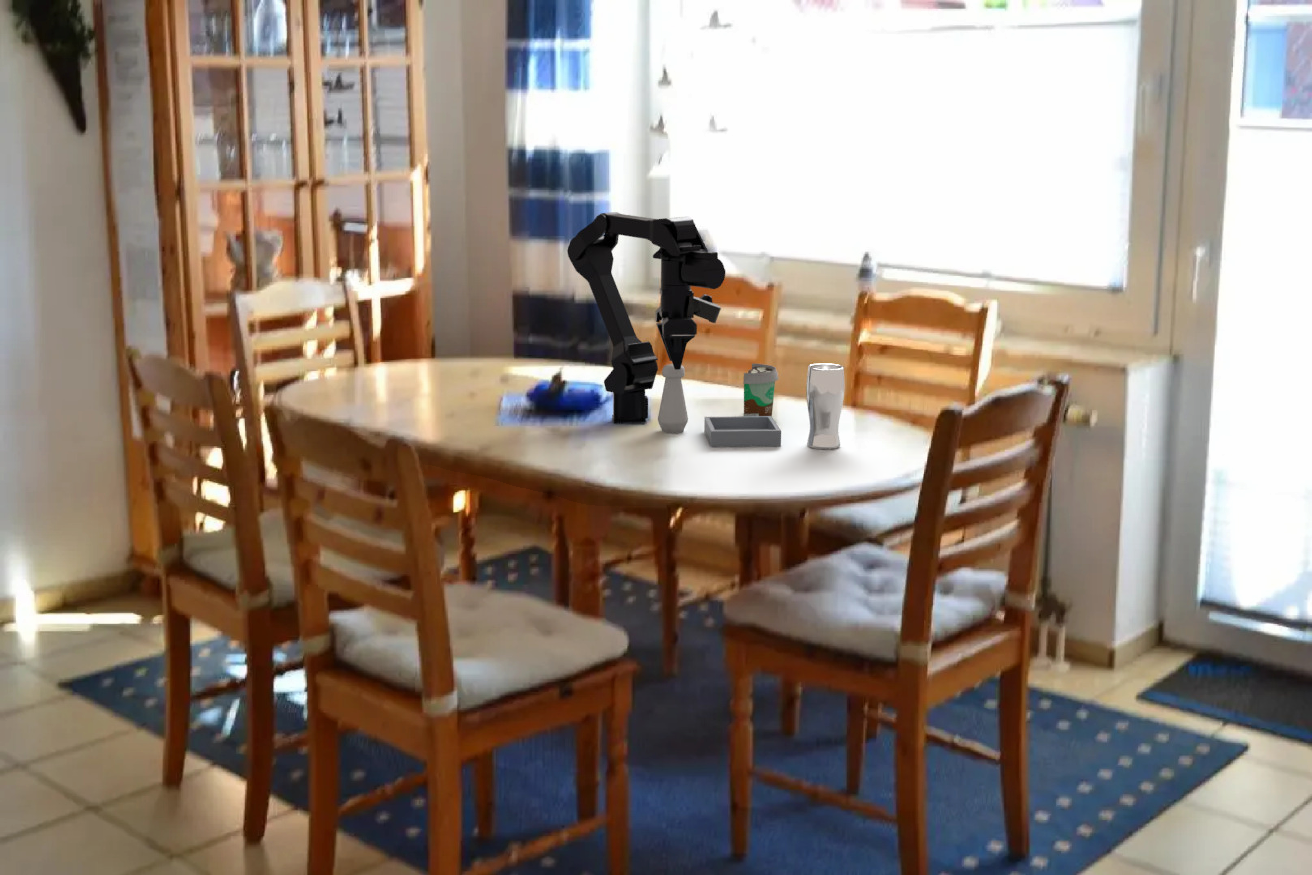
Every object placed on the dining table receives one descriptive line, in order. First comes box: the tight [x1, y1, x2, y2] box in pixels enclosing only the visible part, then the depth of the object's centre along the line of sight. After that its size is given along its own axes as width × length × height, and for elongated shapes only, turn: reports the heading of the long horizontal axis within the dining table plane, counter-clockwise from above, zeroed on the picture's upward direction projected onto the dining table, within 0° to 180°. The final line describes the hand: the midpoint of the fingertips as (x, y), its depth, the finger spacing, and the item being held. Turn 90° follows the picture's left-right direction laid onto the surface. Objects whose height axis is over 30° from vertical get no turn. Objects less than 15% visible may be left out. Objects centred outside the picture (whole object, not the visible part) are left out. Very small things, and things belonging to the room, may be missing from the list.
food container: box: [742, 362, 780, 417], centre depth 315 cm, size 12×6×10 cm, turn 168°
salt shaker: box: [657, 363, 689, 434], centre depth 301 cm, size 6×6×13 cm
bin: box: [703, 415, 782, 448], centre depth 296 cm, size 13×13×3 cm
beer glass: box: [805, 363, 845, 451], centre depth 289 cm, size 7×7×15 cm
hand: (675, 365), depth 300 cm, fingers open, 9 cm apart
